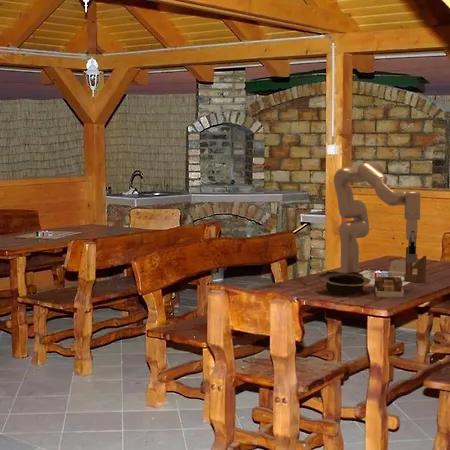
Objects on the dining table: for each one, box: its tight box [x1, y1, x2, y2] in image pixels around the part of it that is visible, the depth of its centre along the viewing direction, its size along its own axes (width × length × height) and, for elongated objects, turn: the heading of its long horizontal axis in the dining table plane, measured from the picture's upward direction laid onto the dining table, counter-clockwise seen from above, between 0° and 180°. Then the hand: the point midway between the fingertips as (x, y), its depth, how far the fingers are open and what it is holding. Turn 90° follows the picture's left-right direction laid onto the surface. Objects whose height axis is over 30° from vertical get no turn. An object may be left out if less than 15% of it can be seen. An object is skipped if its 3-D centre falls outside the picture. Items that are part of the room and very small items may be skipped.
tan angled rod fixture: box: [403, 246, 427, 284], centre depth 434 cm, size 4×11×18 cm, turn 55°
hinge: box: [387, 259, 417, 278], centre depth 454 cm, size 17×5×10 cm, turn 59°
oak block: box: [384, 280, 393, 292], centre depth 401 cm, size 4×4×6 cm
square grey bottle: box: [407, 237, 418, 263], centre depth 407 cm, size 5×4×14 cm
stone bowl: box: [318, 270, 371, 296], centre depth 406 cm, size 25×25×9 cm
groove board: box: [374, 276, 403, 292], centre depth 411 cm, size 13×13×6 cm
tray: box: [374, 287, 405, 298], centre depth 399 cm, size 13×12×2 cm
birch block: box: [385, 285, 394, 292], centre depth 397 cm, size 4×4×4 cm
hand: (411, 253), depth 407 cm, fingers closed on square grey bottle, 3 cm apart
